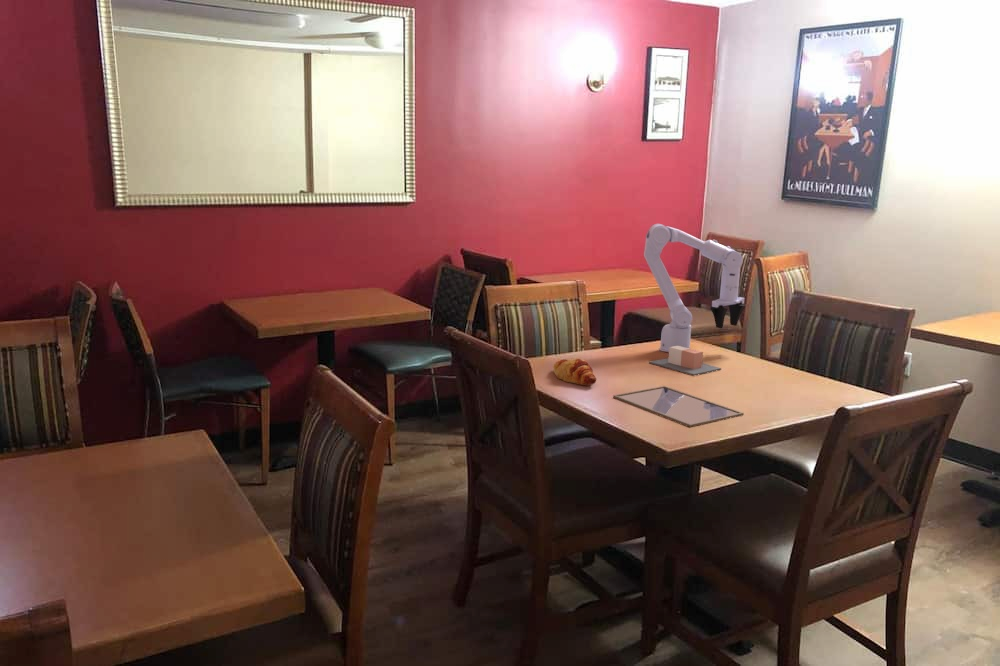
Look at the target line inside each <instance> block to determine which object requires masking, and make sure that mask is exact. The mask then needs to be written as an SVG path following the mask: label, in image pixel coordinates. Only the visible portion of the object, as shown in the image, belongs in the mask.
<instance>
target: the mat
mask: <svg viewBox="0 0 1000 666" xmlns="http://www.w3.org/2000/svg"><path fill="white" fill-rule="evenodd" d="M668 359H669V357H667V358H666V357H665V358H662V359H657V360H651V361H648V363H649V364H651V365H655V366H657V365H658V367H660V368H664V367H665V369H668V368H669V369H668V370H672V371H675V370H676V371H675V372H679V371H680V373H682V372H683V374H686V373H687V375H689V374H691V375H690V376H693V375H696V376H699V375H698V374H700V375H702V374H703V373H704V374H708V373H707V372H709V373H713V372H717V371H716V370H718V371H721V370H722V367H719V366H715V365H710V364H708V363H704V362H702V367H701V368H697V369H691V368H687V367H683V366H680V365H676V364H672V363H668ZM712 371H713V372H712Z"/></svg>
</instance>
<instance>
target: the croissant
mask: <svg viewBox="0 0 1000 666" xmlns="http://www.w3.org/2000/svg"><path fill="white" fill-rule="evenodd" d="M553 373H554V374H555V376H556V378H557V379H559V380H561V381H564V382H566V383H570V384H576V385H580V386H591V385H594V384H595V383H596V382H597V377H596V375H595V373H594V371H593V368H592V367H591V366H590V363H589V362H588V361H587V360H584V359H582V358H581V357H580V358H571V359H568V358H565V359H561V360H558V361H556V362H555V363H554V365H553Z"/></svg>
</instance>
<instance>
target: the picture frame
mask: <svg viewBox="0 0 1000 666" xmlns="http://www.w3.org/2000/svg"><path fill="white" fill-rule="evenodd" d="M612 397H613V399H616V400H617V401H621V402H624V403H626V404H629V405H631V406H633V407H637V408H639V409H641V408H642V410H644V411H646V412H650V413H651V414H654V413H655V415H657V414H658V415H657V416H660V415H661V416H660V417H662V416H663V418H665V417H666V419H667V418H669V419H668V420H670V419H671V420H670V421H673V422H675V421H676V422H675V423H678V424H680V423H681V425H683V424H684V425H683V426H686V425H687V426H686V427H688V426H689V428H693V427H692V426H694V427H698V426H702V425H705V424H706V423H707V424H711V423H714V422H715V423H716V422H719V421H718V420H720V421H723V419H724V420H726V418H728V419H731V418H730V417H732V418H735V416H737V417H740V415H741V416H744V412H743V411H739V410H737V409H733V408H730V407H728V406H724V405H721V404H719V403H716V402H713V401H710V400H707V399H703V398H701V397H698V396H695V395H692V394H688V393H687V392H686V393H685V392H683V391H681V390H677V389H674V388H672V387H668V386H666V385H663V386H658V387H656V386H655V387H652V388H647V389H641V390H636V391H629V392H624V393H620V394H613V396H612ZM710 422H711V423H710ZM701 424H702V425H701ZM697 425H698V426H697Z"/></svg>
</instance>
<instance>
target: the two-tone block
mask: <svg viewBox="0 0 1000 666" xmlns="http://www.w3.org/2000/svg"><path fill="white" fill-rule="evenodd" d="M703 355H704V351H701V350H696V349H692V348H690V349H689V348H685V347H681V346H673V347H669V352H668V358H669V359H668V363H672V364H676V365H680V366H683V367H687V368H691V369H697V368H701V367H702V363H703V357H704V356H703Z"/></svg>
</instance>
